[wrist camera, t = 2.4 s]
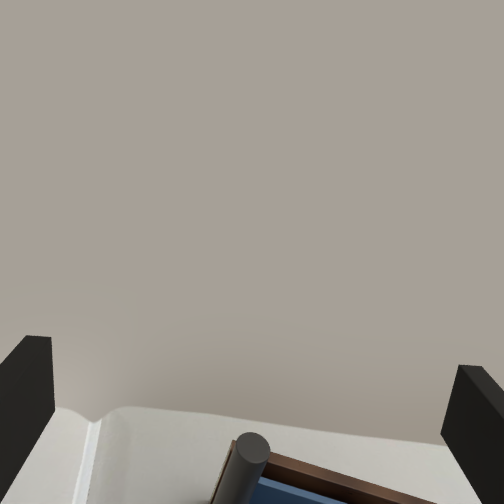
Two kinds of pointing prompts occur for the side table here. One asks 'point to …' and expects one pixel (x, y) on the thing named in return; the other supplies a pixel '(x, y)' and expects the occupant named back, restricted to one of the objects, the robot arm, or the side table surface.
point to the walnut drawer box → (324, 482)
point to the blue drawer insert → (258, 478)
